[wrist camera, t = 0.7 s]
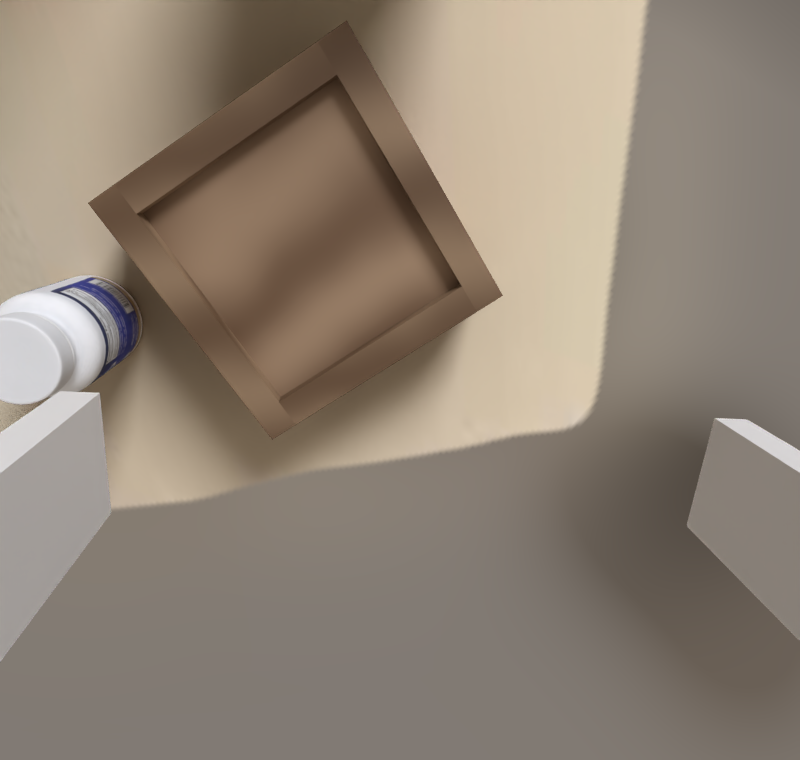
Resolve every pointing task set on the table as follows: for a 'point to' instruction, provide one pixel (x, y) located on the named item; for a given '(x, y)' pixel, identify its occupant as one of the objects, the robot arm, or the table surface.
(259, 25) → the table surface
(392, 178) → the tray
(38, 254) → the table surface
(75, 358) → the pill bottle
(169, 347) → the table surface
